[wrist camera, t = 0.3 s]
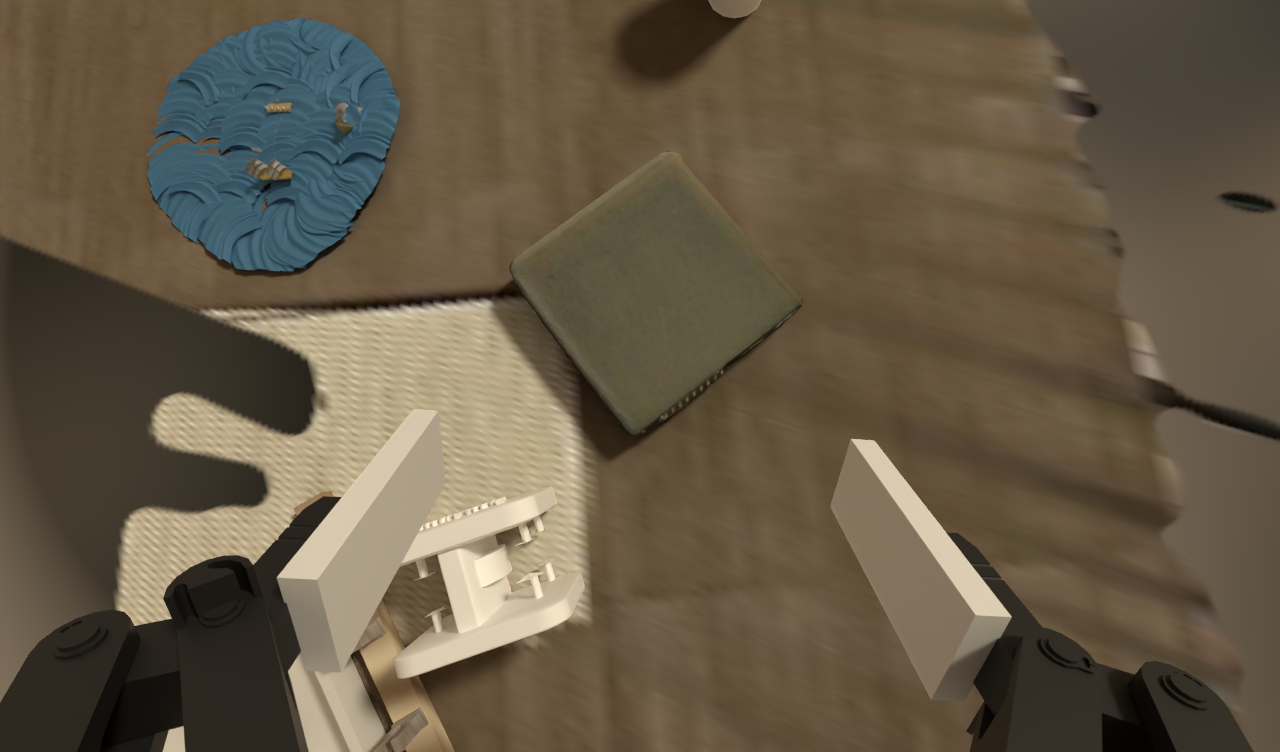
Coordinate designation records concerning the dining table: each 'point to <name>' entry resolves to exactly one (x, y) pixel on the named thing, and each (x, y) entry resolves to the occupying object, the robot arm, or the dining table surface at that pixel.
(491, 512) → the cable organizer
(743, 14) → the foam cup
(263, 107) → the blue wave plaque
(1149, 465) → the dining table surface
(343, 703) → the holder tray
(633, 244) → the network switch
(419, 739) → the cable clip rail
